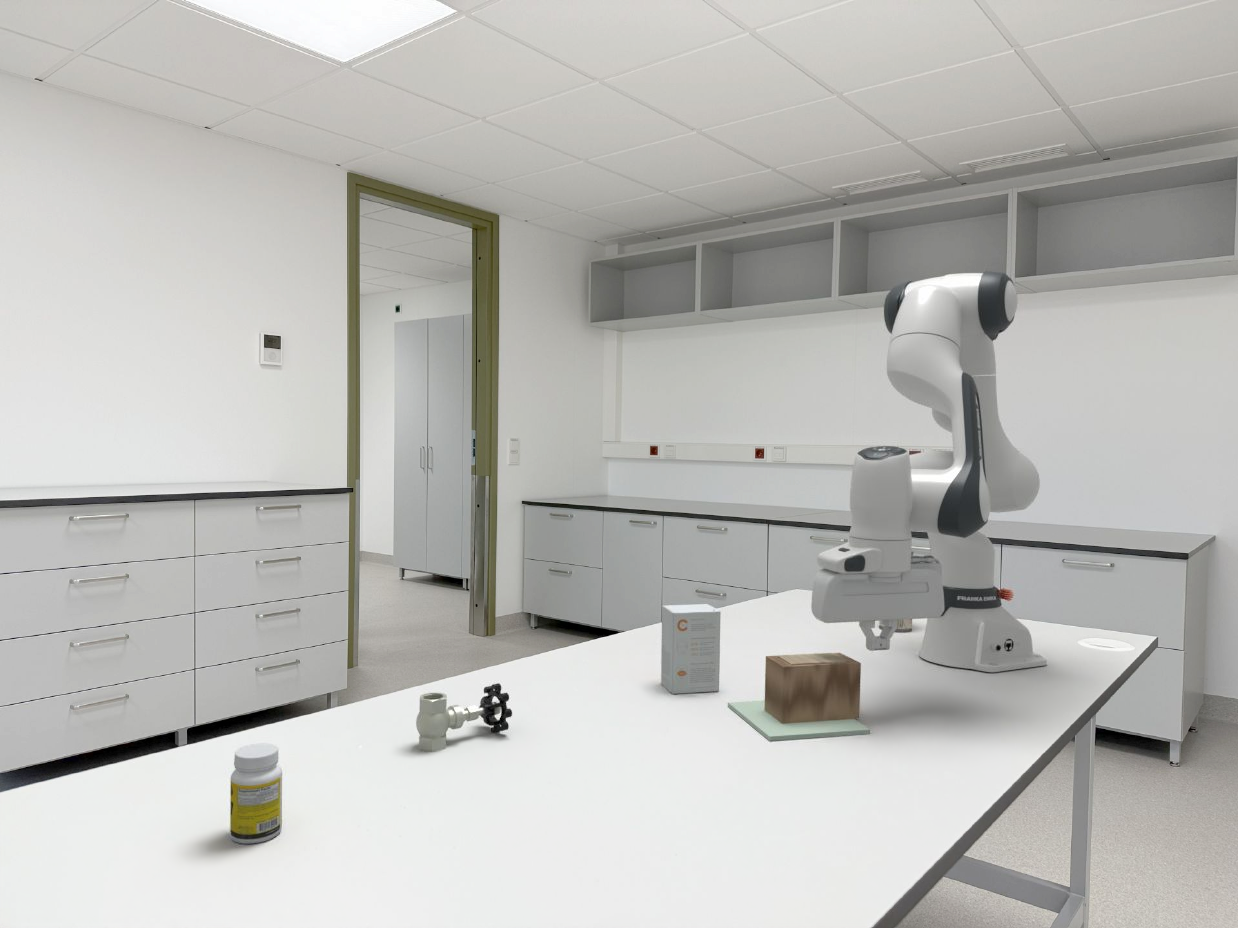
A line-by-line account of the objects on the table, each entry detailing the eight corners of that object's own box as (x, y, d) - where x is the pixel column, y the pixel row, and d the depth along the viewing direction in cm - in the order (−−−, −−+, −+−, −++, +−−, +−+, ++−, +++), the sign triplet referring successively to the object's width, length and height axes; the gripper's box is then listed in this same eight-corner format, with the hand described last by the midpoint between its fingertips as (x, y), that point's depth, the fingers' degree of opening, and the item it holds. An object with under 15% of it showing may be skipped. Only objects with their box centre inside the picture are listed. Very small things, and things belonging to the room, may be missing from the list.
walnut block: (840, 651, 127) (765, 654, 124) (860, 661, 121) (783, 665, 118) (838, 705, 127) (764, 710, 124) (859, 718, 122) (782, 723, 119)
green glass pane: (818, 700, 131) (818, 696, 131) (870, 733, 117) (870, 729, 117) (727, 706, 128) (728, 702, 128) (769, 740, 113) (769, 736, 113)
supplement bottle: (240, 823, 86) (241, 741, 86) (288, 822, 87) (288, 740, 86) (222, 845, 81) (223, 759, 81) (272, 844, 82) (273, 758, 82)
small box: (706, 680, 141) (707, 603, 141) (719, 692, 135) (721, 610, 135) (659, 683, 139) (661, 604, 139) (671, 694, 133) (673, 612, 133)
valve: (429, 758, 105) (512, 738, 113) (430, 705, 105) (512, 688, 113) (405, 743, 110) (486, 724, 118) (406, 692, 110) (486, 677, 118)
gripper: (929, 551, 131) (927, 640, 131) (807, 555, 126) (805, 647, 126) (954, 557, 125) (952, 651, 125) (827, 561, 120) (825, 658, 120)
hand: (877, 649), depth 126 cm, fingers closed
